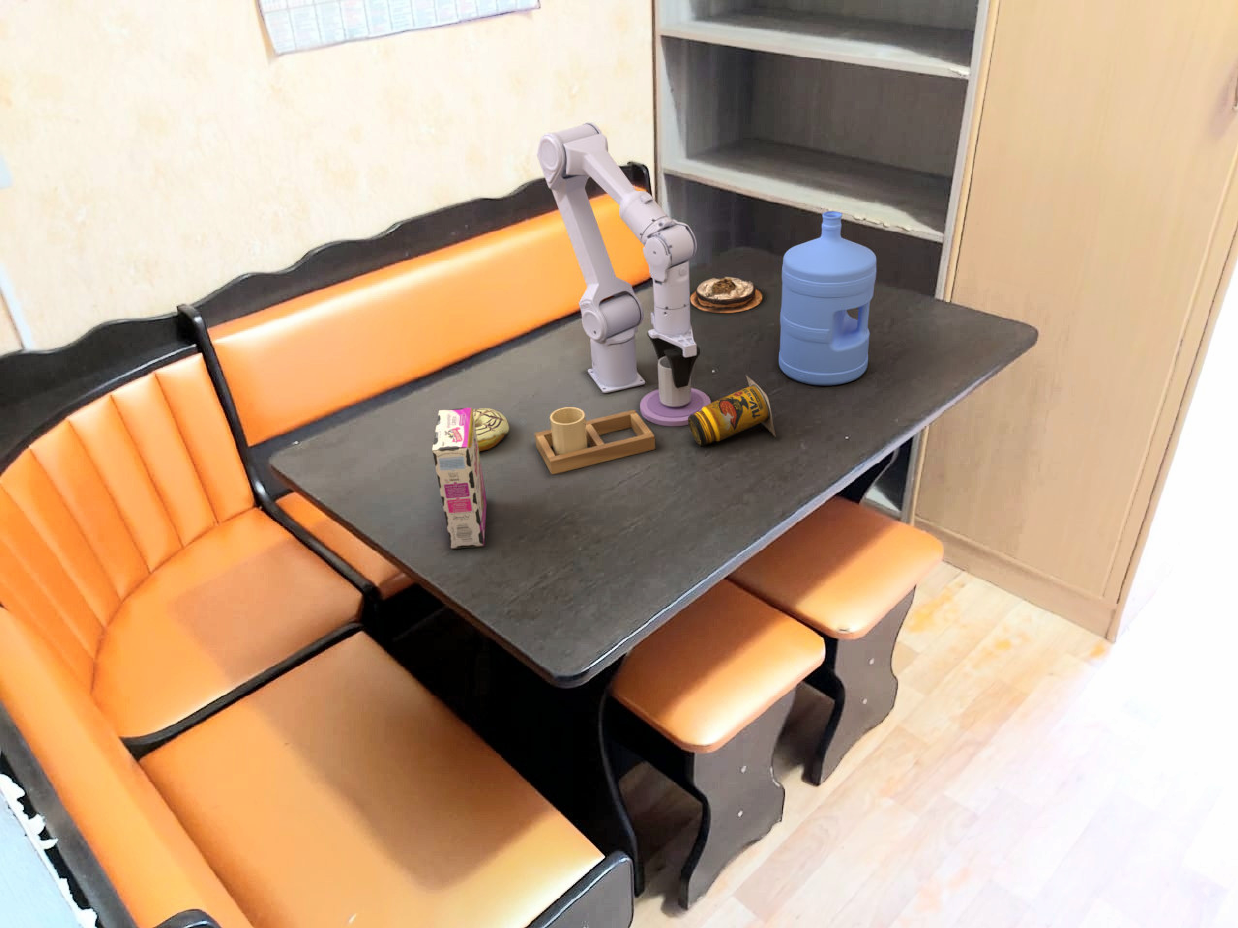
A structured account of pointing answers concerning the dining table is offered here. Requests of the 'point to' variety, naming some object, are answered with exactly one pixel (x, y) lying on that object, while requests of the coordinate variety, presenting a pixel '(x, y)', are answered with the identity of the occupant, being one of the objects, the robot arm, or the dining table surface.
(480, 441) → the decorated donut
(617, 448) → the cup rack
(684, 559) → the dining table surface
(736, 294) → the cake on plate
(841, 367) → the water jug
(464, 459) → the candy bar box
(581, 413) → the beige cup
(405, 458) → the dining table surface
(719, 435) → the condiment
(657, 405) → the lavender plate
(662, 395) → the steel cup
